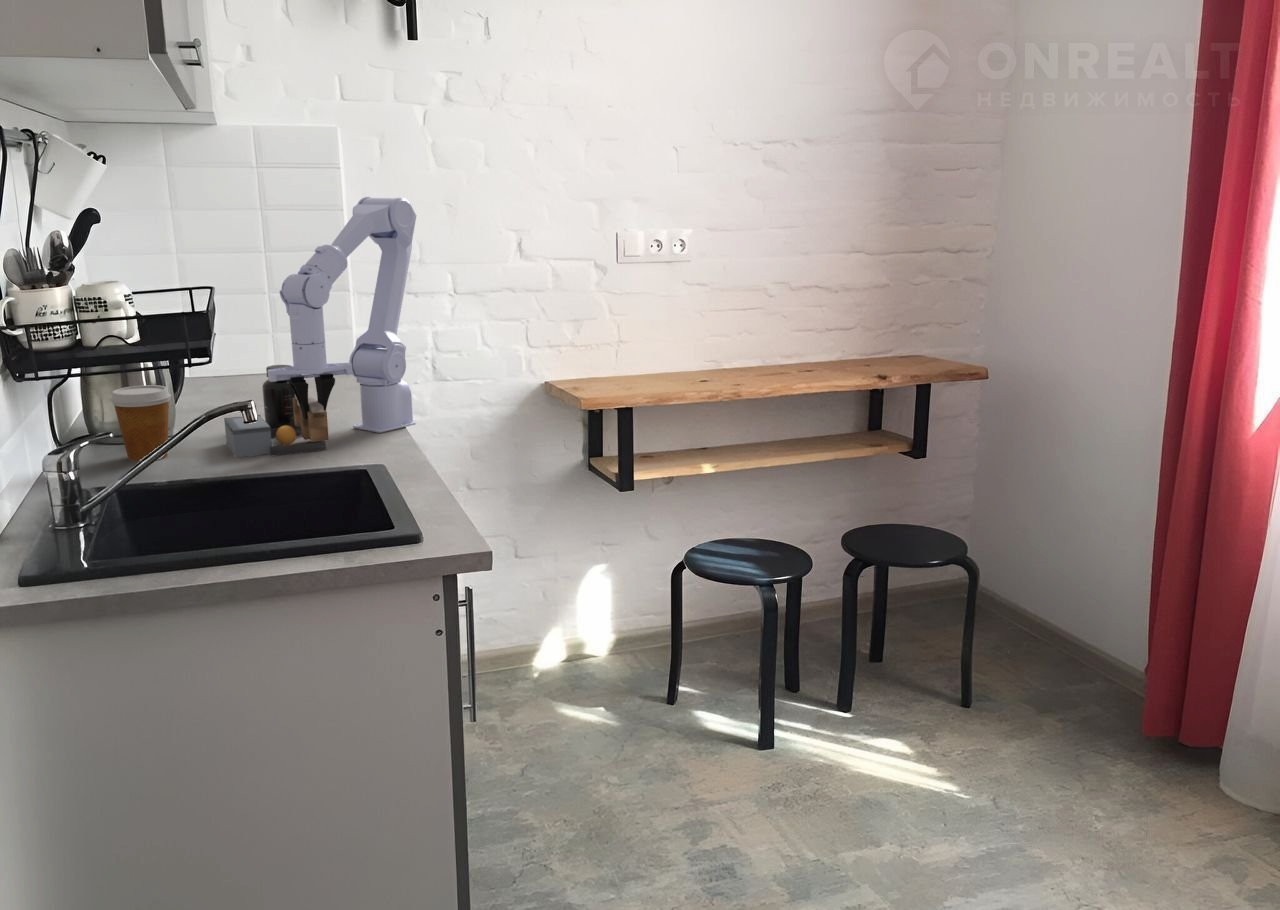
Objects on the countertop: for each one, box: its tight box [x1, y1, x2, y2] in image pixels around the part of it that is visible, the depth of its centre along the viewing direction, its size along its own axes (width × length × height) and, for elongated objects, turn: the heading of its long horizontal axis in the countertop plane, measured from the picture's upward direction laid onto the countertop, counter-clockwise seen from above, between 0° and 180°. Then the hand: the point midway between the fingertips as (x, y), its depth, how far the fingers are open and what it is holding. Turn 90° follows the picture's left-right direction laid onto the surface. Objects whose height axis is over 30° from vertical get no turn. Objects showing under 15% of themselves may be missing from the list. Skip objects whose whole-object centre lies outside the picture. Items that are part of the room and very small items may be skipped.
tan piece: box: [292, 393, 330, 442], centre depth 198 cm, size 3×16×7 cm, turn 28°
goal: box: [223, 414, 273, 458], centre depth 193 cm, size 6×11×5 cm, turn 28°
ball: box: [276, 426, 297, 445], centre depth 196 cm, size 4×4×4 cm
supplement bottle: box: [261, 364, 295, 429], centre depth 209 cm, size 7×7×12 cm
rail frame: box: [269, 426, 327, 457], centre depth 197 cm, size 10×15×2 cm, turn 28°
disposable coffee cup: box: [110, 384, 172, 463], centre depth 186 cm, size 10×10×12 cm
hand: (314, 417), depth 194 cm, fingers closed on tan piece, 2 cm apart
